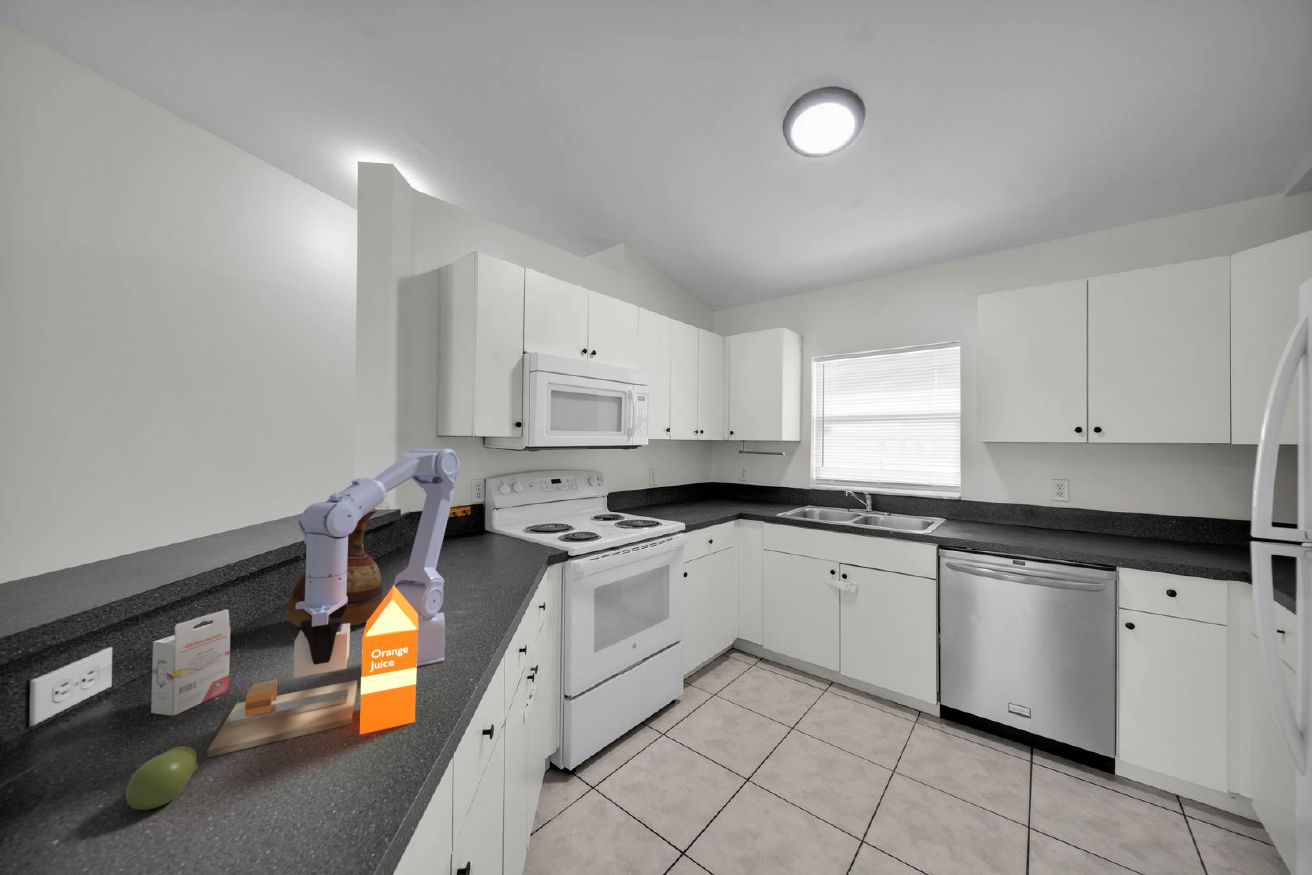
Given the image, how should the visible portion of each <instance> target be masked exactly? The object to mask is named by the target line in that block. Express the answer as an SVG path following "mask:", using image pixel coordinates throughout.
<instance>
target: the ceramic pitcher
mask: <svg viewBox="0 0 1312 875" xmlns="http://www.w3.org/2000/svg"><path fill="white" fill-rule="evenodd" d="M376 513H378V509H376V508H374V509H373V510H371V511H370V512H368V513H367V514H366V515H364V516H363V517H361V519H360V520H359V521H358V523H357V525H356V528H355V529H354V531H353V532H352V533H351V534H348V555H347V591H346V596H347V597H348V602H347V603H348V606H347V608H346V610H345V612H344V614H343V616H342V617H344V619H343V622H342V623H343V624H347V623H350V627H352V626H351V625H353V626H358V625H361V624H363V623H367V620H369V618H370V617H371V616H372V614H373V613H374V612H375V610H376V609H377V608H378V606H379V605H380V604H381V602H382V601H383V600H384V586H383V585H384V584H383V580H382V576H381V571H380V569H379V566H378V564H377V563H376V561H375V560H374V559H373V557H371V556H370V555H369V554H367V553H366V552H365V549H364V545H363V543H364V542H363V541H364V534H365V533H366V532H365V531H366V526H367V524H368V522H369V520H370V518H372V517H373V516H374V515H375V514H376ZM305 582H306V568H304V569H303V571H302V572H301V574H300V575H299V577H298V578H297V580H296V581H295V583H294V585H293V587H292V589H291V592H290V595H289V598H288V603H287V617H288V619H289V621H290V622H291V623H292V624H293V625H294V626H296V627H298V628H300V624H301V622H302V621H304V620H311V618H310V616H309V614H308V612H307V611H306V610H304V609H295V608H296V604H297V603H298V602H302V601H305Z"/></svg>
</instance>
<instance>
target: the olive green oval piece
mask: <svg viewBox="0 0 1312 875" xmlns="http://www.w3.org/2000/svg"><path fill="white" fill-rule="evenodd" d="M198 768H199V764H198V763H197V753H196V751H195V750H194V749H193V748H192V747H191V746H186V745H185V746H184V745H182V746H176V747H173V748H169V749H168V750H166V751H165V752H163V753H161V754H159V755H157V756H154V757H153V758H151V759H149V760H147V761H146V762H144V763H143V764H142V765H140V766H139V767H138V768H137V769H136V770H135V771H134V772H133V774H132V776H131V777H130V779H129V781H128V783H127V786H126V790H125V800H126V803H127V804H128V806H129V807H131V808H133V809H134V810H138V811H139V810H140V811H149V810H153V809H156V808H159V807H161V806H163V805H164V806H165V805H166V804H167V803H170V802H171V801H172V800H174V799H175V798H176V797H178V795H179V794H180V793H181V792H182V791H183V790H184V788H185V787H186V786H187V784H188V782H189V781H190V779H191V777H192V775H193V774H194V773H196V772H197V771H198Z"/></svg>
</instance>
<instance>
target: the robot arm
mask: <svg viewBox="0 0 1312 875" xmlns="http://www.w3.org/2000/svg"><path fill="white" fill-rule="evenodd" d="M461 466H462V465H461V461H460V460H459V457H458V455H457V453H456V452H455V450H453V449H452V448H442V449H441V448H440V449H439V448H438V449H437V448H436V449H435V448H434V449H433V448H432V449H431V448H429V449H426V448H425V449H421V448H412V449H410V450H409V451H407V452H404V453H403V454H401V458H400V459H399V460H397V461H396V462H394V463H392V465H390V466H389V467H388V468H386V469H385V470H383V471H382V472H380V473H379V474H378V475H377V476H375V477H374V478H369V477H363V478H360V477H359V478H355V479H353V480H352V481H351V485H350V486H348V487H346V488H344V489H342V490H341V491H339V492H338V493H333V494H331V495H329V498H328V499H327V500H326V501H317V502H314V503H311V504H310V505H309V506H308V507H306V509H304V511H303V512H302V515H301V517H300V519H297V526H298V529H299V531H300V532H301V533H302V534H303V537H304V540H303V542H304V544H305V546H306V551H305V552H306V554H305V556H306V557H305V569H306V582H305V601H302V602H298V603H297V604H296V608H295V609H304V610H306V611H307V612H308V614H309V616H310V618H311V620H304V621H302V622H301V624H300V627H299V628H300V631H301V630H302V632H303V633H304V635H305V636H306V638H307V640H308V643H309V647H310V652H311V657H312V661H313V663H314V665H316V664H321V663H327V662H329V661H330V658H331V655H332V651H333V646H334V641H335V637H336V633H337V631H338V629H339V627H340V625H341V623H342V622H343V619H344V617H342V616H343V614H344V612H345V610H346V608H347V606H348V603H347V602H348V597H347V596H346V591H347V555H348V534H351V533H352V532H353V531H354V529H355V528H356V525H357V523H358V521H359V520H360V519H361V517H363V516H364V515H366V514H367V513H368V512H370V511H371V510H373V509H374V508H375V509H376V508H378V507H379V506H380V505H382V504H383V502H384V501H385V499H386V494H387V493H388V492H390V491H391V490H393V489H394V488H397V487H399V486H400V485H401V484H403V483H405V482H407V481H408V480H410V479H412V480H413V482H415V484H417V485H418V486H419V487H420V488H422V489H423V491H424V492H425V493H426V496H425V500H424V505H423V507H422V512H421V516H420V520H419V523H418V527H417V531H416V535H415V539H414V542H413V546H412V550H411V554H410V558H409V562H408V565H407V567H405V569H404V570H402V571H400V572H399V573H398V574H396V576H395V579H394V581H393V584H392V586H391V588H390V589H389V590H388V593H389V592H390V591H391V589H392V588H393V585H394V586H395V587H396V588H397V590H398V591H399V592H400V593H401V595H402V596H403V597H404V598H405V599H406V601H407V602H408V603H409V604H410V605H411V607H412V608H413V609H414V610H415V611H416V613H417V614H418V630H417V661H416V663H417V667H420V666H426V665H431V664H435V663H441V662H444V661H445V648H446V638H445V637H446V636H445V634H446V632H445V631H446V624H445V623H446V621H445V613H444V612H439V611H440V609H441V608H442V605H443V603H444V584H445V579H444V578H443V577H442V576H441V575H440V574H439V572H438V571H437V570H436V569H437V567H438V566H437V565H438V562H439V557H440V553H441V549H442V545H443V540H444V537H445V533H446V528H447V523H448V520H449V515H450V511H451V507H452V503H453V500H454V499H453V498H454V495H455V489H456V485H457V482H458V476H459V472H460V469H461ZM416 582H417V583H416ZM418 582H420V583H421V582H422V583H421V584H420V583H418ZM388 593H387V594H388Z"/></svg>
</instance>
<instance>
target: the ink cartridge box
mask: <svg viewBox="0 0 1312 875" xmlns="http://www.w3.org/2000/svg"><path fill="white" fill-rule="evenodd" d="M229 612H230V611H229V609H223V610H220V611H217V612H214V613H209V614H205V615H203V616H200V617H199V616H198V617H196V618H193V619H191V620H186V621H184V622H183V621H182V622H180V623H179V622H178V623H177V624H176V625H174V635H171V636H167V637H164V638H161V639H158V640H157V639H156V640H155V641H153V642H152V665H151V666H152V669H151V670H152V671H151V672H152V673H151V703H150V704H151V708H150V709H151V710H150V713H151V714H157V715H164V716H171V717H172V716H177V715H179V714H181V713H182V712H185V711H187V710H189V709H191V708H194V707H196V706H198V705H200V704H203V703H204V702H207V701H209V700H212V699H213V698H215V697H218V696H220V695H222V694H224V693H226V692H228V691H229V689H230V688H229V685H230V660H231V659H230V657H231V655H230V654H231V625H230V613H229ZM202 622H205V623H207V622H212V623H209V624H205V625H203V626H199V627H197V628H194V627H195V626H198V625H200V624H201V623H202Z"/></svg>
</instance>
